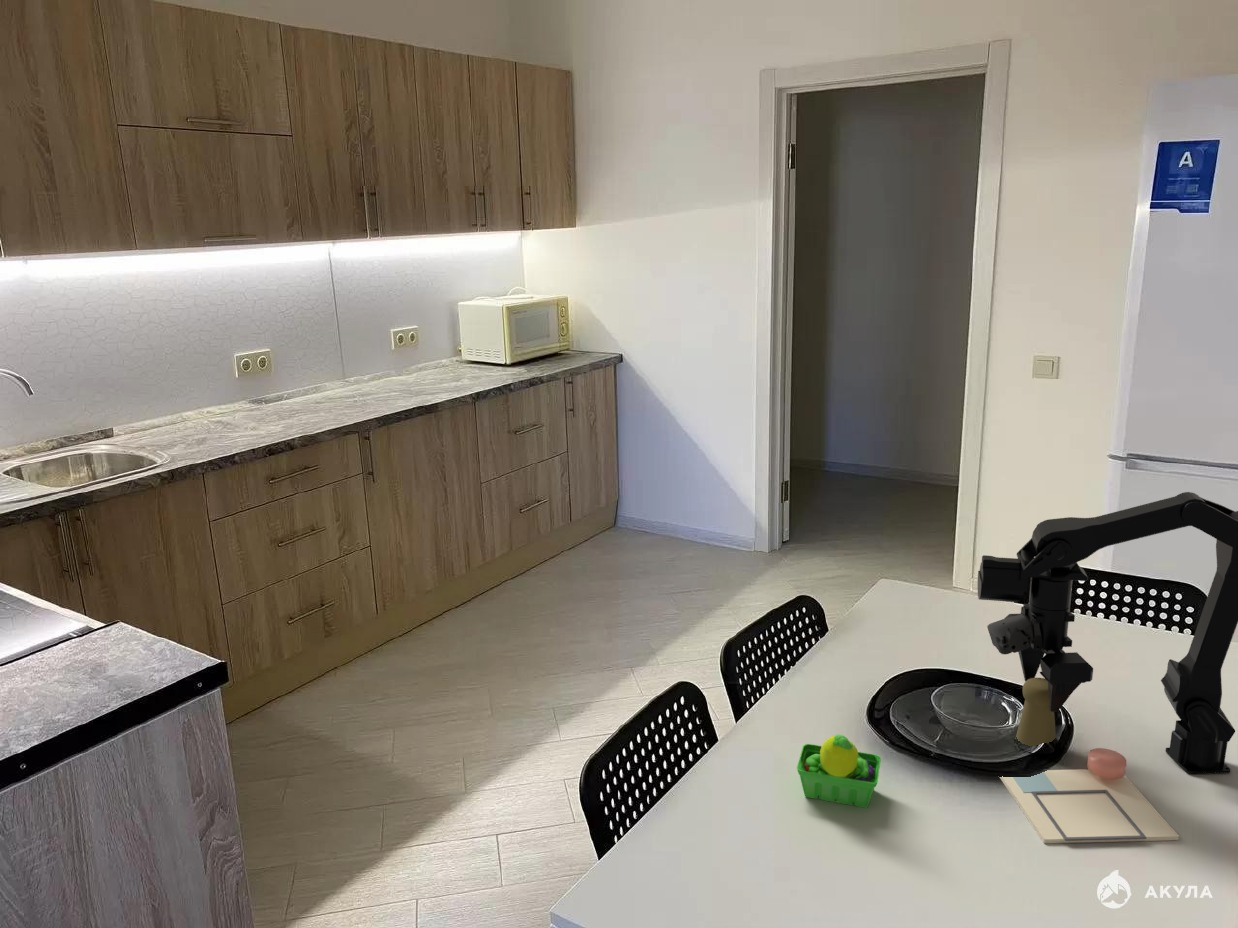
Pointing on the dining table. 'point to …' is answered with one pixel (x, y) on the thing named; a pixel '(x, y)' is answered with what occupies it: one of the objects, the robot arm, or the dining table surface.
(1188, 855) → the dining table surface
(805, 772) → the fruit basket
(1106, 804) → the colouring board
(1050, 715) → the cork
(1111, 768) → the button
